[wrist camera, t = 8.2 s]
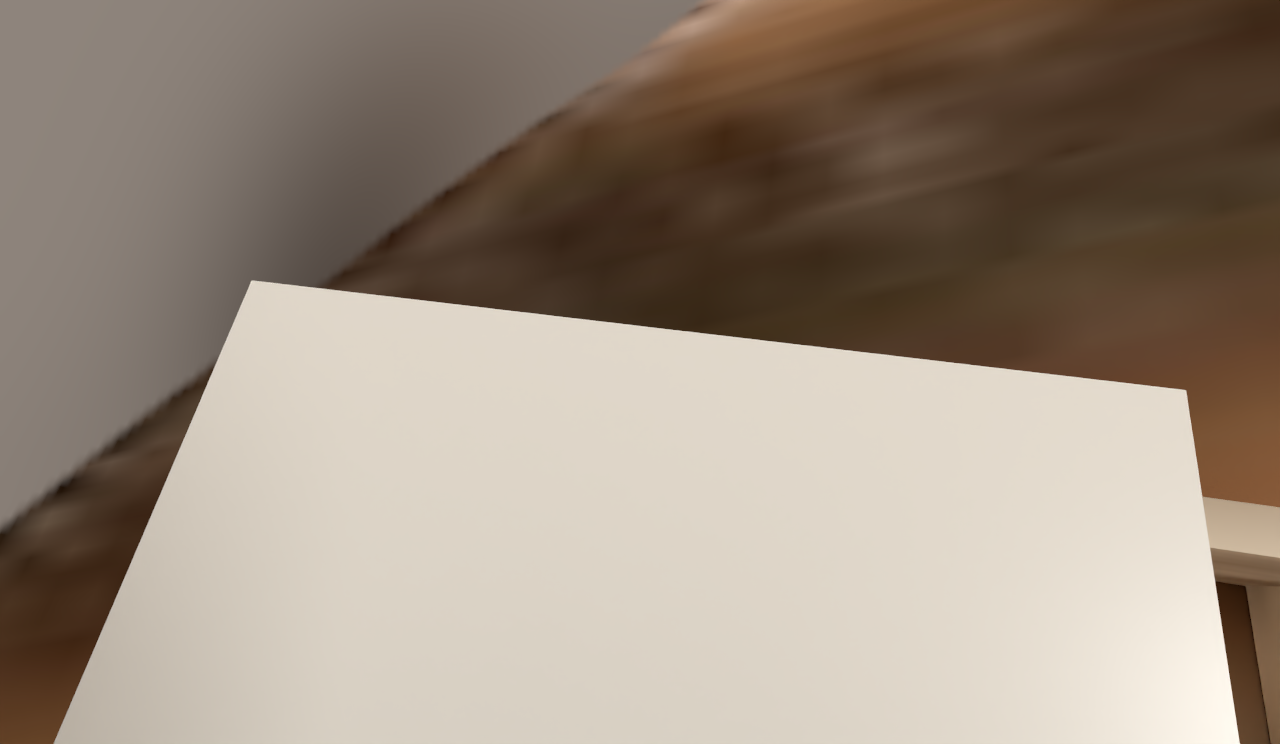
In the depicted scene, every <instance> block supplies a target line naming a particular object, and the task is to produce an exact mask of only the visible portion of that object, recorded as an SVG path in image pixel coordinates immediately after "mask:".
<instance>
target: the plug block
mask: <svg viewBox="0 0 1280 744" xmlns="http://www.w3.org/2000/svg"><path fill="white" fill-rule="evenodd" d="M54 744H1240V742H1239V735H1238V729H1237V722H1236V715H1235V709H1234V702H1233V696H1232V689H1231V683H1230V676H1229V670H1228V663H1227V656H1226V650H1225V643H1224V637H1223V630H1222V624H1221V617H1220V611H1219V604H1218V597H1217V591H1216V584H1215V578H1214V571H1213V565H1212V558H1211V552H1210V545H1209V538H1208V532H1207V525H1206V519H1205V512H1204V506H1203V499H1202V493H1201V486H1200V479H1199V473H1198V466H1197V460H1196V453H1195V447H1194V440H1193V433H1192V427H1191V420H1190V414H1189V407H1188V401H1187V394H1186V390H1180V389H1171V388H1163V387H1154V386H1146V385H1137V384H1129V383H1120V382H1112V381H1103V380H1095V379H1086V378H1078V377H1069V376H1061V375H1052V374H1044V373H1035V372H1026V371H1018V370H1009V369H1001V368H992V367H984V366H975V365H967V364H958V363H950V362H941V361H933V360H924V359H916V358H907V357H899V356H890V355H882V354H873V353H865V352H856V351H848V350H839V349H831V348H822V347H814V346H805V345H797V344H788V343H780V342H771V341H763V340H754V339H746V338H737V337H729V336H720V335H711V334H703V333H694V332H686V331H677V330H669V329H660V328H652V327H643V326H635V325H626V324H618V323H609V322H601V321H592V320H584V319H575V318H567V317H558V316H550V315H541V314H533V313H524V312H516V311H507V310H499V309H490V308H482V307H473V306H465V305H456V304H448V303H439V302H431V301H422V300H413V299H405V298H396V297H388V296H379V295H371V294H362V293H354V292H345V291H337V290H328V289H320V288H311V287H302V286H293V285H285V284H277V283H269V282H260V281H251V283H250V286H249V288H248V291H247V293H246V295H245V297H244V300H243V302H242V304H241V307H240V309H239V311H238V314H237V316H236V319H235V321H234V324H233V325H232V328H231V330H230V333H229V335H228V338H227V339H226V342H225V344H224V346H223V349H222V351H221V353H220V356H219V358H218V360H217V363H216V365H215V367H214V370H213V372H212V375H211V377H210V379H209V382H208V384H207V386H206V389H205V391H204V393H203V396H202V398H201V400H200V403H199V405H198V407H197V410H196V412H195V414H194V417H193V419H192V421H191V424H190V426H189V428H188V431H187V433H186V435H185V438H184V440H183V442H182V445H181V447H180V449H179V452H178V454H177V456H176V459H175V461H174V463H173V466H172V468H171V470H170V473H169V475H168V477H167V480H166V482H165V484H164V487H163V489H162V491H161V494H160V496H159V498H158V501H157V503H156V505H155V508H154V510H153V512H152V515H151V517H150V519H149V522H148V524H147V526H146V529H145V531H144V533H143V536H142V538H141V540H140V543H139V545H138V547H137V550H136V552H135V555H134V557H133V559H132V562H131V564H130V566H129V569H128V571H127V573H126V576H125V578H124V580H123V583H122V585H121V587H120V590H119V592H118V594H117V597H116V599H115V601H114V604H113V606H112V608H111V611H110V613H109V615H108V618H107V620H106V622H105V625H104V627H103V629H102V632H101V634H100V636H99V639H98V641H97V643H96V646H95V648H94V650H93V653H92V655H91V657H90V660H89V662H88V664H87V667H86V669H85V671H84V674H83V676H82V678H81V681H80V683H79V685H78V688H77V690H76V692H75V695H74V697H73V699H72V702H71V704H70V706H69V709H68V711H67V713H66V716H65V718H64V720H63V723H62V725H61V727H60V730H59V732H58V735H57V737H56V739H55V742H54Z"/></svg>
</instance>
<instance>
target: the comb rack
mask: <svg viewBox="0 0 1280 744" xmlns="http://www.w3.org/2000/svg"><path fill="white" fill-rule="evenodd" d="M1202 499H1203V506H1204V512H1205V519H1206V525H1207V532H1208V538H1209V545H1210V552H1211V558H1212V565H1213V571H1214V578H1215V581H1216V582H1223V583H1229V584H1236V585H1242V586H1246V592H1247V598H1248V604H1249V610H1250V617H1251V623H1252V629H1253V635H1254V641H1255V648H1256V654H1257V660H1258V666H1259V673H1260V679H1261V685H1262V691H1263V698H1264V704H1265V710H1266V716H1267V723H1268V729H1269V735H1270V741H1271V744H1280V508H1279V507H1272V506H1265V505H1258V504H1251V503H1244V502H1236V501H1229V500H1222V499H1215V498H1208V497H1202Z"/></svg>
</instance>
